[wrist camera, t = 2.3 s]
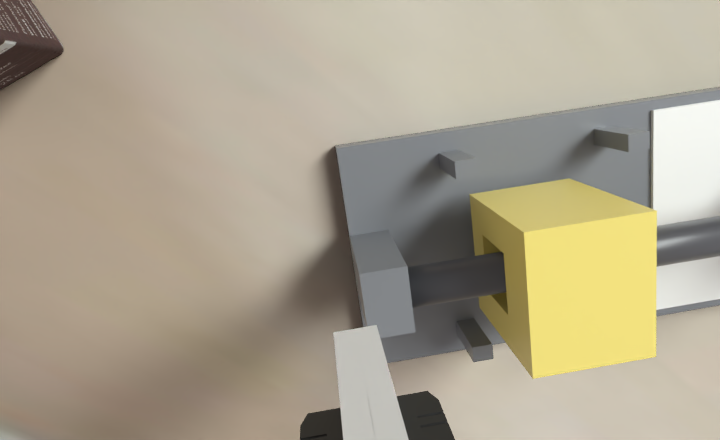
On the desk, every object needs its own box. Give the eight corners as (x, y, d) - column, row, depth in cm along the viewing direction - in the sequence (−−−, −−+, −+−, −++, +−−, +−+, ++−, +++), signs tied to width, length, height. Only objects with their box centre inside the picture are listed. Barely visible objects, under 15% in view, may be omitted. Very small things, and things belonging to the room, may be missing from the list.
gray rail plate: (335, 145, 27) (342, 165, 20) (799, 74, 28) (946, 72, 22) (367, 355, 30) (382, 431, 24) (784, 283, 31) (909, 335, 25)
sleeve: (469, 194, 26) (523, 232, 19) (569, 178, 26) (657, 210, 19) (479, 307, 27) (533, 378, 21) (573, 291, 27) (656, 356, 21)
